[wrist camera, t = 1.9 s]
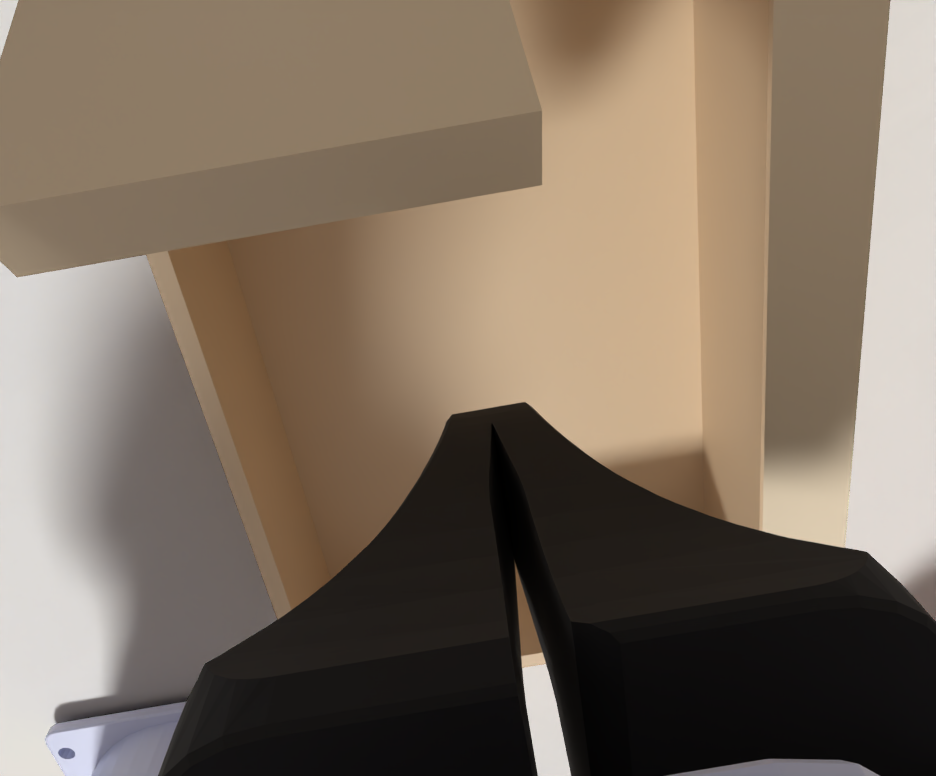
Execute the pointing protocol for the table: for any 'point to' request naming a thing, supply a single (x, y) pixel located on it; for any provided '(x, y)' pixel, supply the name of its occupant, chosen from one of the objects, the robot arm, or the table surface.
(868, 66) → the long flap
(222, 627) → the table surface
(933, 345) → the table surface
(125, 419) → the table surface
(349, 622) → the robot arm
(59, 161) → the short flap
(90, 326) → the table surface
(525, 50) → the carton
